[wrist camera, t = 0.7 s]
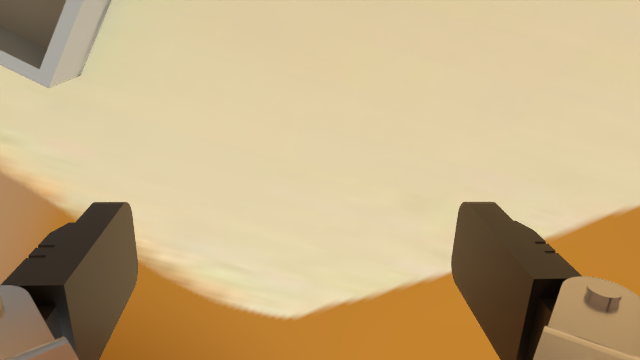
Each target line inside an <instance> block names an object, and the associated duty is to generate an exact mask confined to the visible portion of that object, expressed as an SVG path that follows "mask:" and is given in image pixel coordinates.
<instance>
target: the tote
mask: <svg viewBox="0 0 640 360" xmlns="http://www.w3.org/2000/svg"><path fill="white" fill-rule="evenodd" d="M110 2H111V0H0V65H2V66H4V67H6V68H8V69H10V70H12V71H14V72H16V73H18V74H20V75H22V76H24V77H26V78H28V79H31V80H33V81H35V82H37V83H39V84H41V85H43V86H45V87H47V88H50V87H53V86H55V85H58V84H60V83H63V82H65V81H68V80H70V79H73V78H75V77H78V76H80V75H81V72H82V70H83V67H84V65H85V62H86V60H87V58H88V55H89V53H90V50H91V48H92V46H93V43H94V41H95V38H96V36H97V33H98V31H99V29H100V26H101V24H102V21H103V19H104V17H105V14H106V12H107V9H108V7H109V4H110Z"/></svg>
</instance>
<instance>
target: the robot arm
mask: <svg viewBox="0 0 640 360" xmlns="http://www.w3.org/2000/svg"><path fill="white" fill-rule="evenodd" d="M451 266H452V274H453V279H454V281H455V284H456V285H457V287H458V289H459V290H460V292H461V294H462V295H463V297H464V299H465V300H466V302H467V304H468V306H469V307H470V309H471V311H472V312H473V314H474V316H475V317H476V319H477V321H478V322H479V324H480V326H481V327H482V329H483V331H484V332H485V334H486V336H487V337H488V339H489V341H490V342H491V344H492V346H493V348H494V349H495V351H496V353H497V354H498V356H499V358H500V359H501V360H640V298H639V297H638V296H637V295H636V294H634V293H633V292H632V291H630V290H628V289H627V288H625V287H622V286H621V285H618V284H616V283H613V282H610V281H607V280H604V279H600V278H594V277H585V276H581V275H580V274H579V273H578V272H577V271H576V270H575V269H574V268H573V267H572V266H571V265H569V263H568V262H567V261H565V260H564V259H563V258H562V257H561V256H560V255H559V254H558V253H555V250H554V249H553V248H552V247H551V246H550V245H549V244H546V242H545V240H543V239H542V238H541V237H540V236H539V235H538V234H537V233H536V232H535V231H534V230H532V229H530V228H528V227H526V226H525V225H523V224H521V223H519V222H517V221H513V220H512V219H511V218H510V217H509V216H508V215H507V214H506V213H505V212H504V211H503V210H502V209H501V208H500V207H499V206H498V205H497V204H496V203H495V202H463V203H462V204H461V206H460V208H459V212H458V218H457V225H456V232H455V239H454V246H453V253H452V262H451ZM137 274H138V259H137V251H136V242H135V234H134V226H133V217H132V211H131V207H130V205H129V203H127V202H94V203H92V204H91V206H90V207H89V208H88V209H87V210H86V211H85V212H84V213H83V215H82V216H81V217H80V218H79V219H78V220H77V221H76V223H68V224H66V225H64V226H62V227H60V228H58V229H57V230H55V231H53V232H51V233H50V234H49V235H48V236H47V237H46V238H45V239H44V240H43V241H42V242H41V243H40V244H39V245H38V248H35V249H34V250H33V252H32V253H31V254H30V255H29V258H26V259H25V260H24V261H23V262H22V263H21V264H20V265H19V266H18V267H17V268H16V269H15V270H14V271H13V273H12V274H11V275H10V276H9V277H8V278H7V279H6V280H5V281H4V282H3V283H2V284H1V285H0V360H99V359H100V357H101V355H102V352H103V351H104V348H105V347H106V344H107V342H108V340H109V338H110V336H111V334H112V332H113V330H114V328H115V326H116V324H117V322H118V320H119V318H120V316H121V314H122V312H123V310H124V308H125V306H126V304H127V302H128V300H129V298H130V296H131V294H132V292H133V290H134V287H135V284H136V281H137Z"/></svg>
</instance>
